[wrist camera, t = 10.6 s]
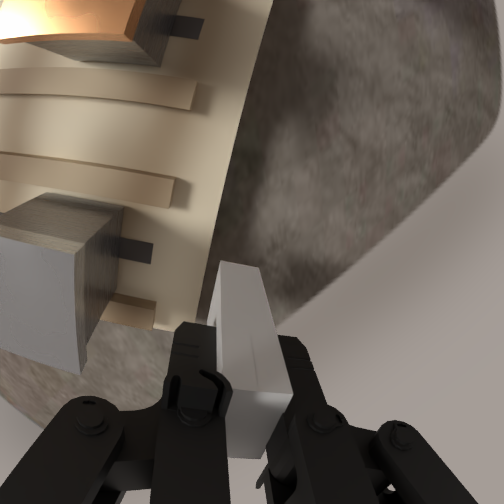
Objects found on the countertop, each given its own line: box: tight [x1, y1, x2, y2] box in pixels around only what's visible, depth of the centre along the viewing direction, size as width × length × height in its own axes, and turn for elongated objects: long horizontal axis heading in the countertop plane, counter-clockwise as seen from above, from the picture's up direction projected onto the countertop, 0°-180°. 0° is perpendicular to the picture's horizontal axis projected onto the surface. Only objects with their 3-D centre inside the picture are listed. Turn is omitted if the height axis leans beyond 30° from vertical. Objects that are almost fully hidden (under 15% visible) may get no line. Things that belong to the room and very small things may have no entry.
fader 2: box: [0, 192, 124, 375], centre depth 10 cm, size 4×4×6 cm
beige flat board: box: [0, 0, 273, 332], centre depth 11 cm, size 22×18×3 cm
